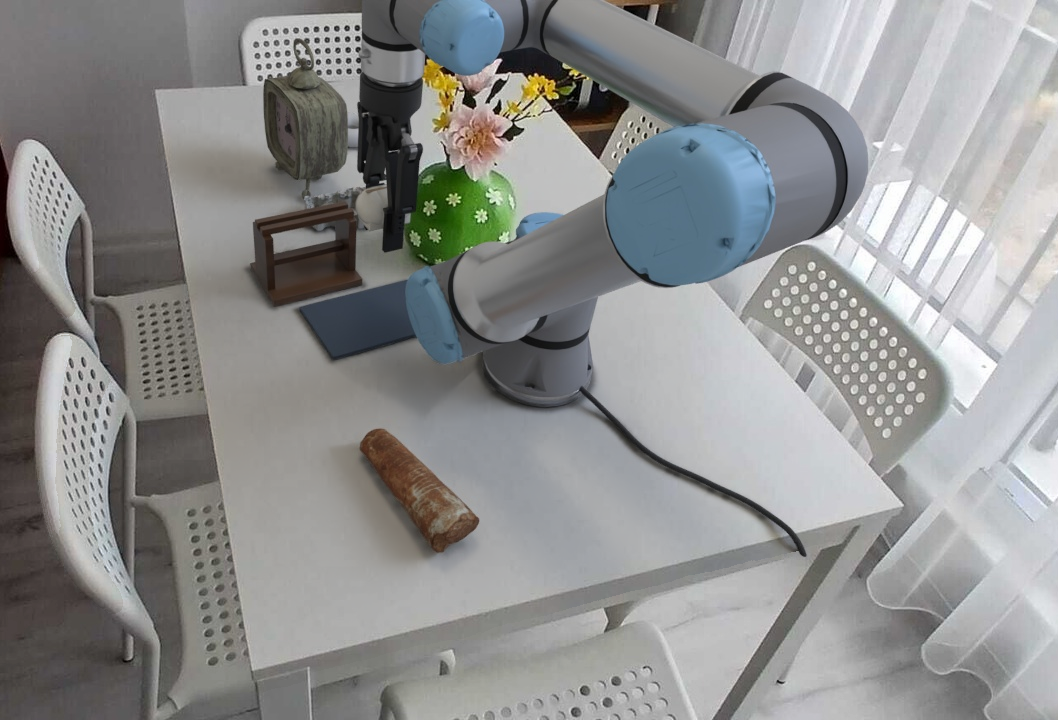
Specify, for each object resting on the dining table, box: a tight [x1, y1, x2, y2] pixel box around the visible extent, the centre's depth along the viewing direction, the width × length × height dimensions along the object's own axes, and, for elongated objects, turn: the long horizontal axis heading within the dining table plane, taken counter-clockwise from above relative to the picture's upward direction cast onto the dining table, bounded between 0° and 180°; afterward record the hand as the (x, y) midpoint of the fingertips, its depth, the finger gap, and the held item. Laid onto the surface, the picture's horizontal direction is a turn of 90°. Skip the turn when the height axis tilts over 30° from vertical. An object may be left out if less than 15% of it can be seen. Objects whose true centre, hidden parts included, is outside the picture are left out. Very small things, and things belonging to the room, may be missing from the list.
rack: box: [249, 201, 363, 308], centre depth 132 cm, size 10×14×11 cm
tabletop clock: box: [262, 37, 349, 200], centre depth 148 cm, size 14×9×25 cm, turn 33°
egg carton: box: [303, 186, 365, 232], centre depth 147 cm, size 11×8×4 cm
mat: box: [298, 279, 417, 361], centre depth 130 cm, size 12×20×1 cm, turn 121°
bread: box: [359, 427, 480, 554], centre depth 104 cm, size 6×19×6 cm, turn 34°
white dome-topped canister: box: [355, 183, 412, 232], centre depth 118 cm, size 5×8×5 cm, turn 121°
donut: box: [347, 111, 359, 148], centre depth 169 cm, size 10×4×10 cm
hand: (383, 237), depth 121 cm, fingers closed on white dome-topped canister, 5 cm apart
